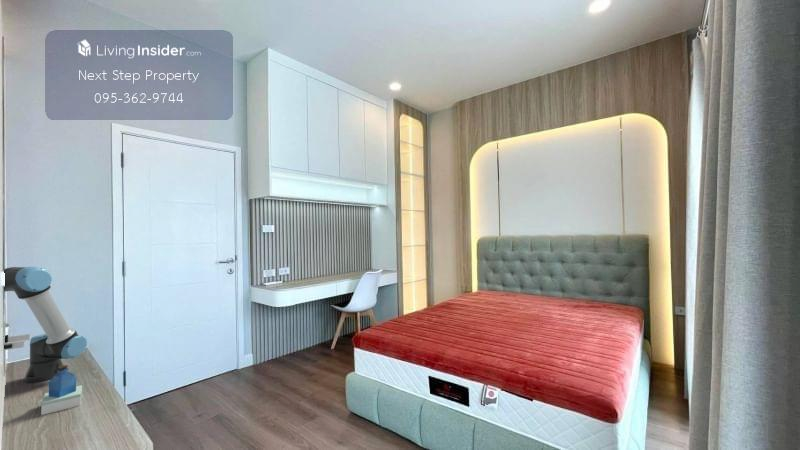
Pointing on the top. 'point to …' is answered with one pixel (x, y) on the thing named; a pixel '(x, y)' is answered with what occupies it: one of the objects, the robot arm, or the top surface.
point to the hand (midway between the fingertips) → (27, 340)
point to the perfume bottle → (62, 383)
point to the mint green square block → (61, 401)
